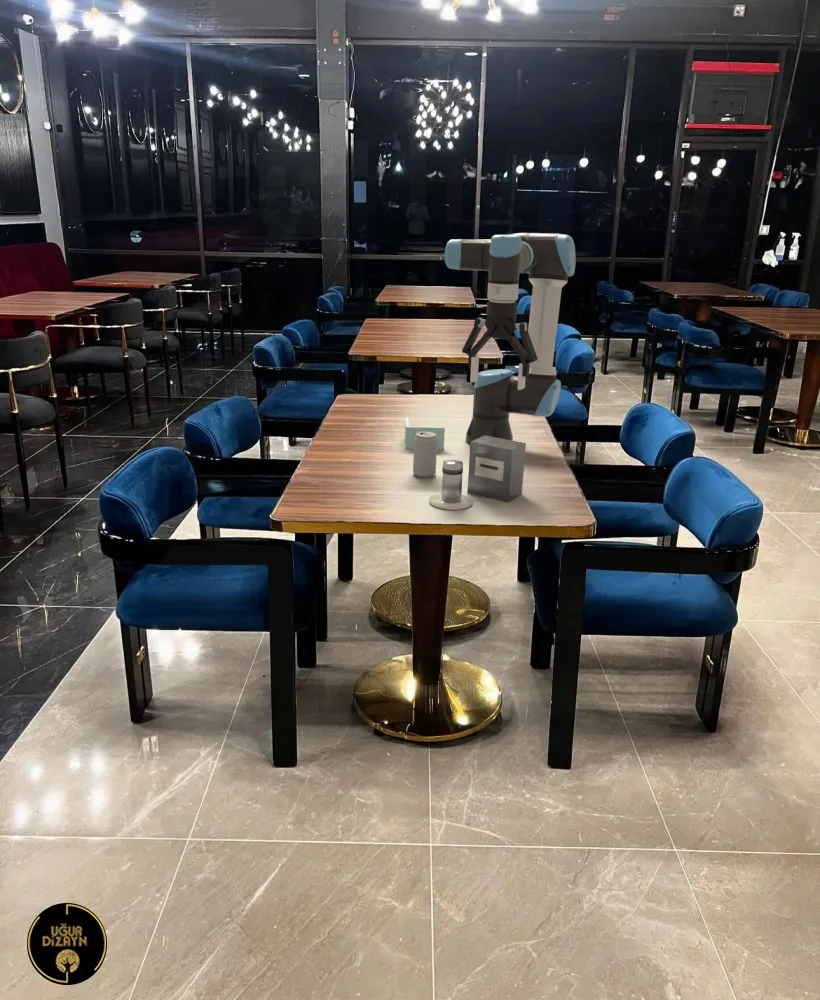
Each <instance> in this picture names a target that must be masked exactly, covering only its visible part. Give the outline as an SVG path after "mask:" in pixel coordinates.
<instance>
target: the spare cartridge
mask: <svg viewBox="0 0 820 1000" xmlns="http://www.w3.org/2000/svg"><path fill="white" fill-rule="evenodd" d="M441 471H442V476H441V477H442V483H441V493H442V501H443V502H445V503H459V502H461V495H462V492H463V491H462V490H463V489H462V486H463V473H464V462H463V461H462V460H458V459H446V460H443V462H442V469H441Z"/></svg>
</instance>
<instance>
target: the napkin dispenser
mask: <svg viewBox="0 0 820 1000" xmlns="http://www.w3.org/2000/svg"><path fill="white" fill-rule="evenodd" d="M526 446H527V442H522V441H517V440H513V441H512V440H506V439H501V438H496V437H490V436H485V435H484V436H482V437H480V438H478V439H476V440H474V441H471V442H470V445H469V461H468V475H467V491H466V492H467V494H470V495H474V496H479V497H483V498H487V499H492V500H495V501H500V502H505V503H510V502H512V501H513V500H516V498H518V497H519V496H521V495H522V493H523V482H524V472H525V470H524V469H525V457H526V448H527V447H526Z"/></svg>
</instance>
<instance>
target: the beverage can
mask: <svg viewBox="0 0 820 1000" xmlns="http://www.w3.org/2000/svg"><path fill="white" fill-rule="evenodd" d="M437 452H438V449H437V437H436V434H435V433H433V432H426V431H423V432H417V433H416V436H415V437H414V449H413V463H412V464H413V465H412V474H414V475H415V476H416V477H418V478H422V477H423V478H424V479H427V478H433V477H434V476H435V475H436V472H437Z"/></svg>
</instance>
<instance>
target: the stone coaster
mask: <svg viewBox="0 0 820 1000" xmlns="http://www.w3.org/2000/svg"><path fill="white" fill-rule="evenodd" d="M428 503H429V505H430V506H431V507H434V508H436V509H438V510H439V509H440V510H445V511H461V510H466V509H469V508H470V507H472V506H473V500H472V498H471V497H468V495H465V494H461V502H459V503H445V502H443V501H442V492H441V493H437V494H433V495H431V496H430V497H429V498H428Z"/></svg>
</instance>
